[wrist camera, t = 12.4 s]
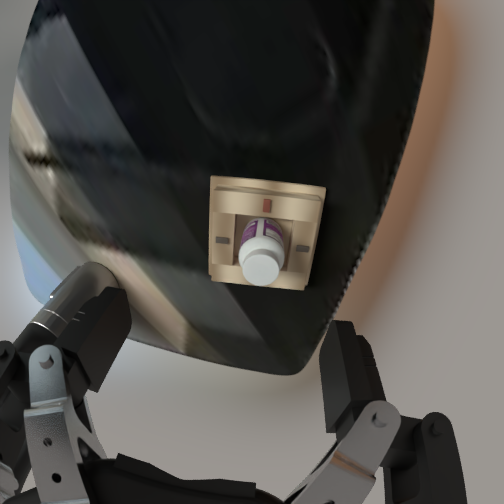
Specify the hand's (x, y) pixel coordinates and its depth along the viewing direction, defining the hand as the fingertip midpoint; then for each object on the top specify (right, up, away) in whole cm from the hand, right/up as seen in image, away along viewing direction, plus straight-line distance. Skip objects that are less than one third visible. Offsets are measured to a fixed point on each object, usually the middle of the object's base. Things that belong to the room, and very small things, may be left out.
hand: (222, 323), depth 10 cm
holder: (+3, +5, +28) cm, 29 cm away
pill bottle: (+3, +5, +28) cm, 29 cm away
